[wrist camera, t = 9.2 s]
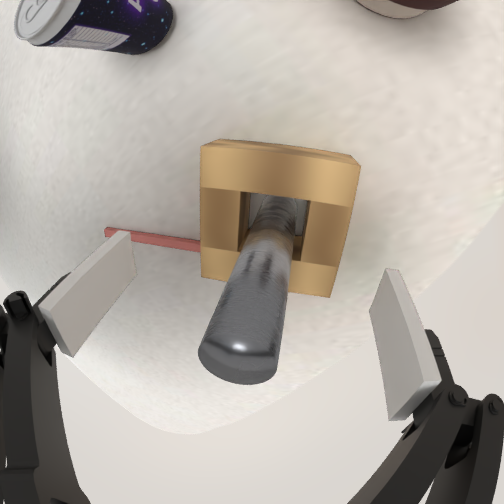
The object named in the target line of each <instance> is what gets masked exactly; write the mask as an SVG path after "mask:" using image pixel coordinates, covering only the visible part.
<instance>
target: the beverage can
mask: <svg viewBox="0 0 504 504" xmlns="http://www.w3.org/2000/svg"><path fill="white" fill-rule="evenodd" d="M172 18H173V13H172V8H171V6H170V4H169V3H168V2H167V1H166V0H21V1H20V3H19V6H18V9H17V12H16V15H15V21H14V30H15V34H16V36H17V37H18V38H19V39H21V40H27V41H28V42H29V43H31V44H32V45H34V46H50V47H72V48H85V49H95V50H103V51H111V52H118V53H124V54H130V55H136V54H141V53H144V52H147V51H149V50H150V49H152V48H153V47H155V46H156V45H157V44H158V43H160V42H161V40H162V39H163V38H164V37H165V35H166V34H167V32H168V31H169V29H170V26H171V23H172Z"/></svg>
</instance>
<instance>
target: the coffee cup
mask: <svg viewBox="0 0 504 504" xmlns="http://www.w3.org/2000/svg"><path fill="white" fill-rule="evenodd" d="M356 1H358V2H359V3H360V4H362V5H363V6H365V7H366V8H368V9H370V10H372V11H374V12H376V13H379V14H381V15H384V16H388V17H392V18H411V17H415V16H418V15H420V14H422V13H424V12H426V11H428V10H433V9H438V8H441V7H444V6H446V5H449V4H451V3H453V2H456V1H458V0H356Z"/></svg>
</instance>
